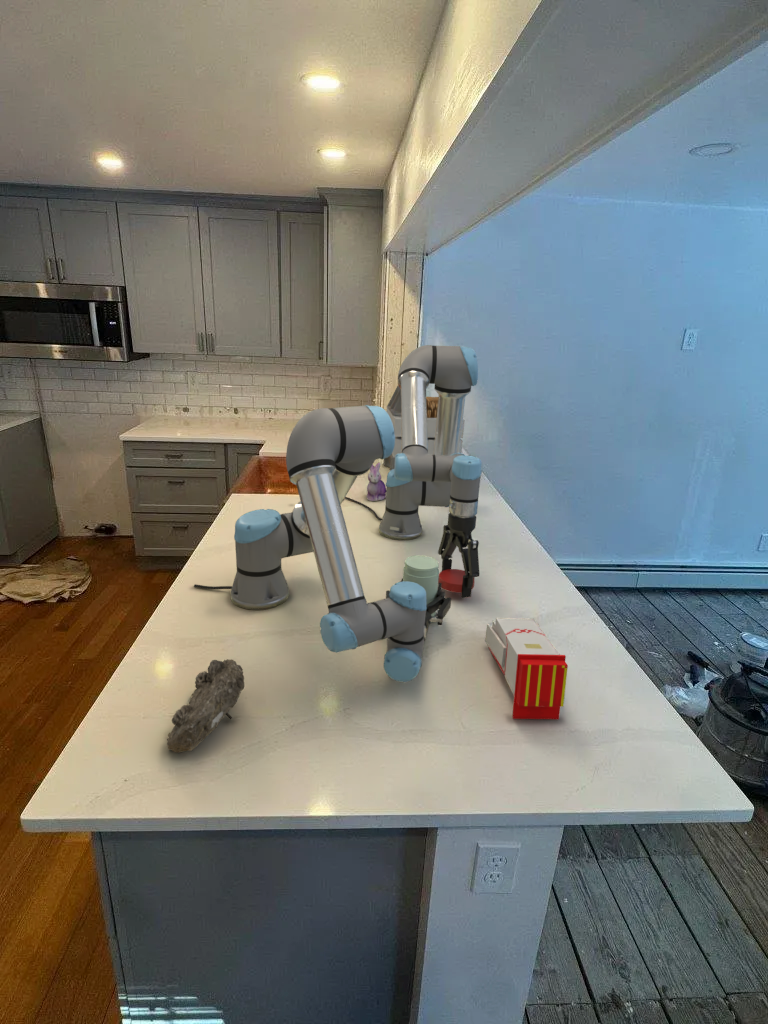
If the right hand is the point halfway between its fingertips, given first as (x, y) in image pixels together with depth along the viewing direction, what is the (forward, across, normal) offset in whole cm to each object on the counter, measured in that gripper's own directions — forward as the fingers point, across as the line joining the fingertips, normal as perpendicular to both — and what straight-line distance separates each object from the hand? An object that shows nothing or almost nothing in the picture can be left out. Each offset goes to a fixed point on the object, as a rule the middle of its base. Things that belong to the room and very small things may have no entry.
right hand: (455, 588), depth 159 cm
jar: (+2, +7, -16) cm, 18 cm away
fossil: (+2, +26, -71) cm, 76 cm away
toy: (+2, +38, -8) cm, 39 cm away
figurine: (+1, -83, +14) cm, 85 cm away
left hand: (-5, +4, -13) cm, 15 cm away
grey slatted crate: (0, -112, +51) cm, 123 cm away
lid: (-3, 0, 0) cm, 3 cm away
